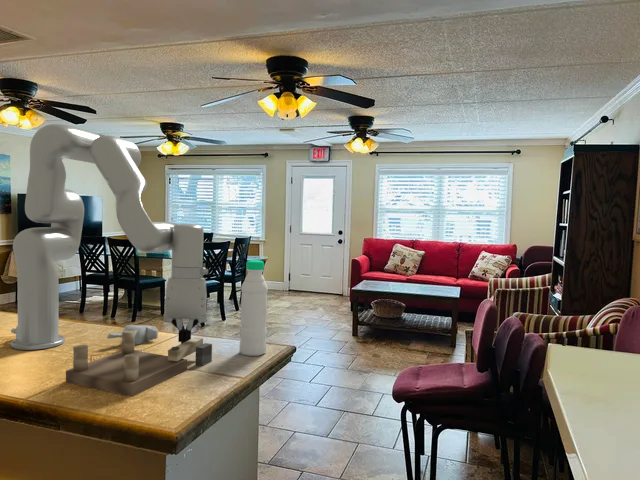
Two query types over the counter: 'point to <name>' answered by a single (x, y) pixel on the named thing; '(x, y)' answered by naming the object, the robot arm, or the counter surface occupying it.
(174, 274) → the robot arm
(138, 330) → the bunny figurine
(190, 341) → the hinged leg
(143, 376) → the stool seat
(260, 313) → the water bottle
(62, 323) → the counter surface
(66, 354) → the counter surface
